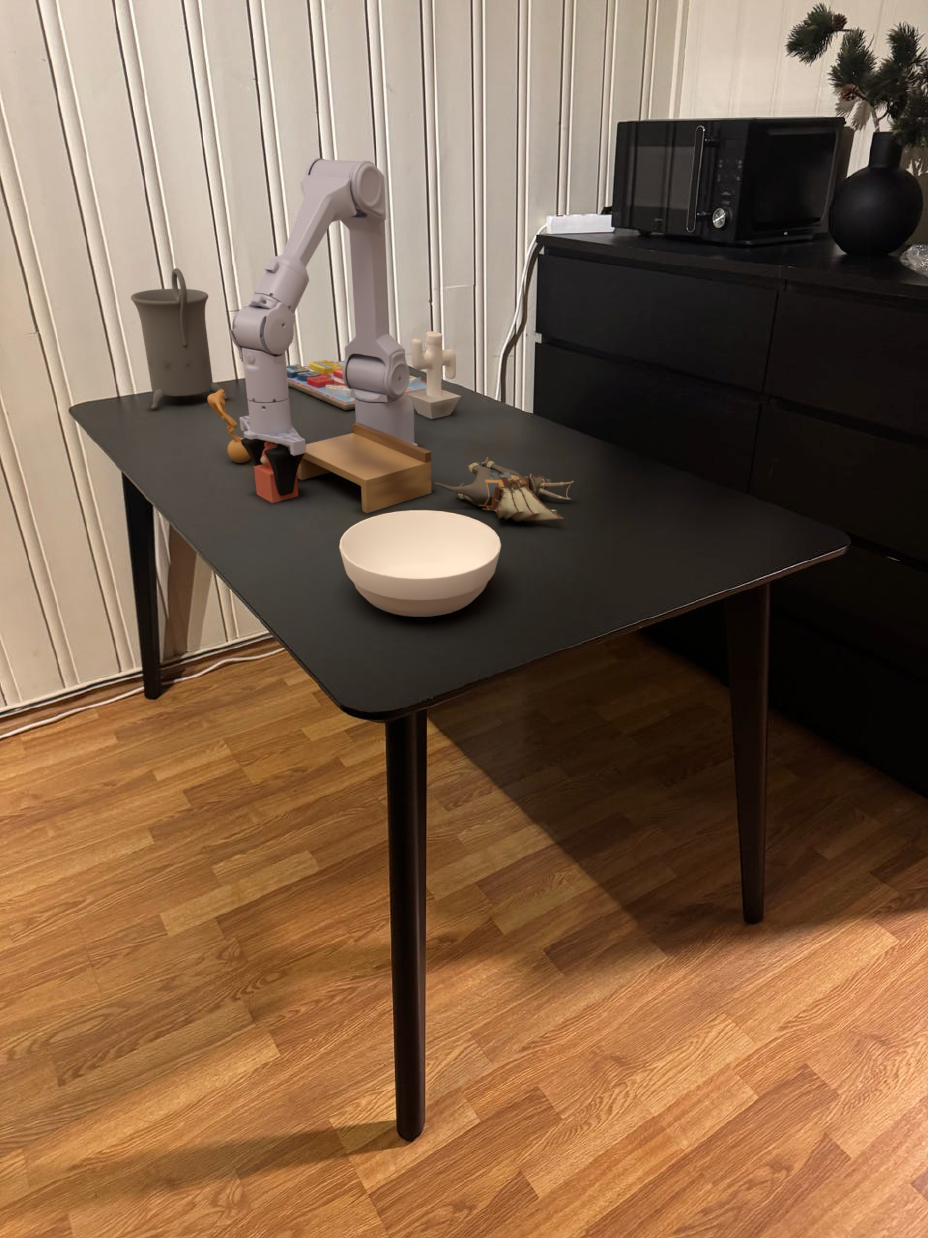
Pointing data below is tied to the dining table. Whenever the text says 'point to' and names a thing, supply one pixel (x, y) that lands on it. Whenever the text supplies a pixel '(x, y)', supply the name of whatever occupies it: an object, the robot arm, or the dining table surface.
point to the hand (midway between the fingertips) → (276, 488)
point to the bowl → (420, 561)
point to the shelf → (372, 465)
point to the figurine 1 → (229, 427)
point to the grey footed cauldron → (175, 340)
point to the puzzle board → (333, 382)
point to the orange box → (269, 479)
